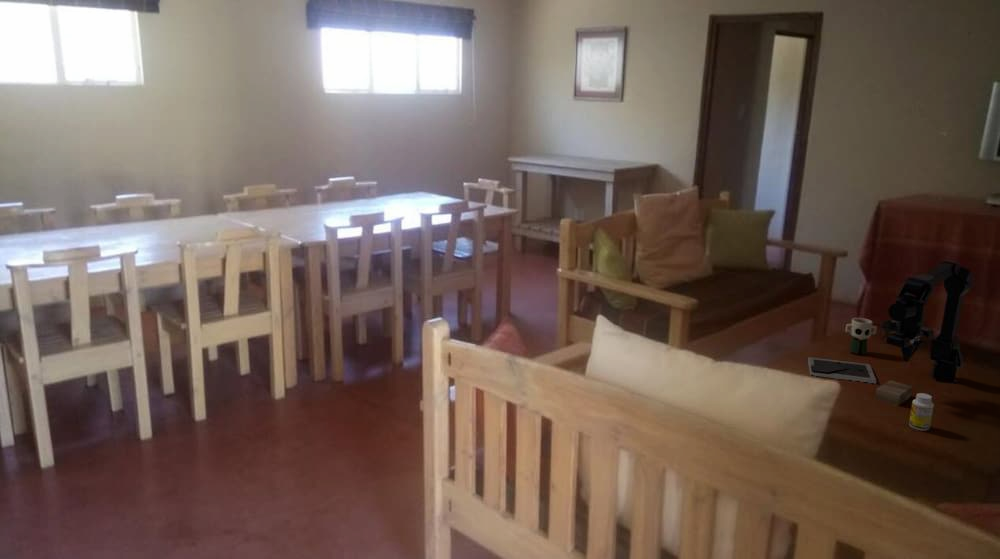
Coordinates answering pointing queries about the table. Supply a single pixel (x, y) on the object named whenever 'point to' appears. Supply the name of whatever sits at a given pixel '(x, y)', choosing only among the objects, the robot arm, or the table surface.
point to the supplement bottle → (921, 412)
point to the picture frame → (841, 370)
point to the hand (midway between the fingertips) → (906, 361)
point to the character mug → (860, 334)
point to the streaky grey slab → (893, 392)
